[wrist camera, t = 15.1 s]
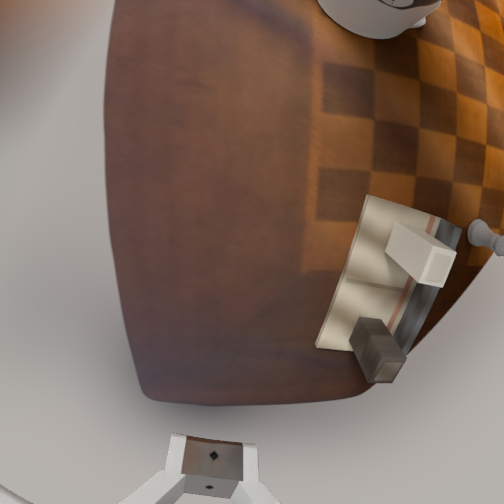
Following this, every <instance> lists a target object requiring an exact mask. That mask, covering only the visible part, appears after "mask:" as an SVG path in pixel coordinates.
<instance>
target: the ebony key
mask: <svg viewBox="0 0 504 504" xmlns="http://www.w3.org/2000/svg"><path fill="white" fill-rule="evenodd" d="M349 342H350V344H351V346H352V349H353V351H354V353H355V355H356V357H357V359H358V362H359V364H360V366H361V368H362V370H363V373H364V375H365V377H366V379H367V382H368V383H392V382H393V381H394V379H395V377H396V376H397V374H398V373H399V371H400V369H401V368H402V365H403V364H404V363H405V361H406V359H407V358H406V356H405V355H404V353H403V352H402V350H401V348H400V347H399V345H398V344H397V342H396V341H395V339H394V338H393V336H392V335H391V333H390V332H389V330H388V329H387V327H386V326H385V324H384V323H383V321H382V320H381V319H376V318H368V317H360V316H359V318H358V321H357V323H356V325H355V328H354V330H353V332H352V334H351V336H350V339H349Z"/></svg>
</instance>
